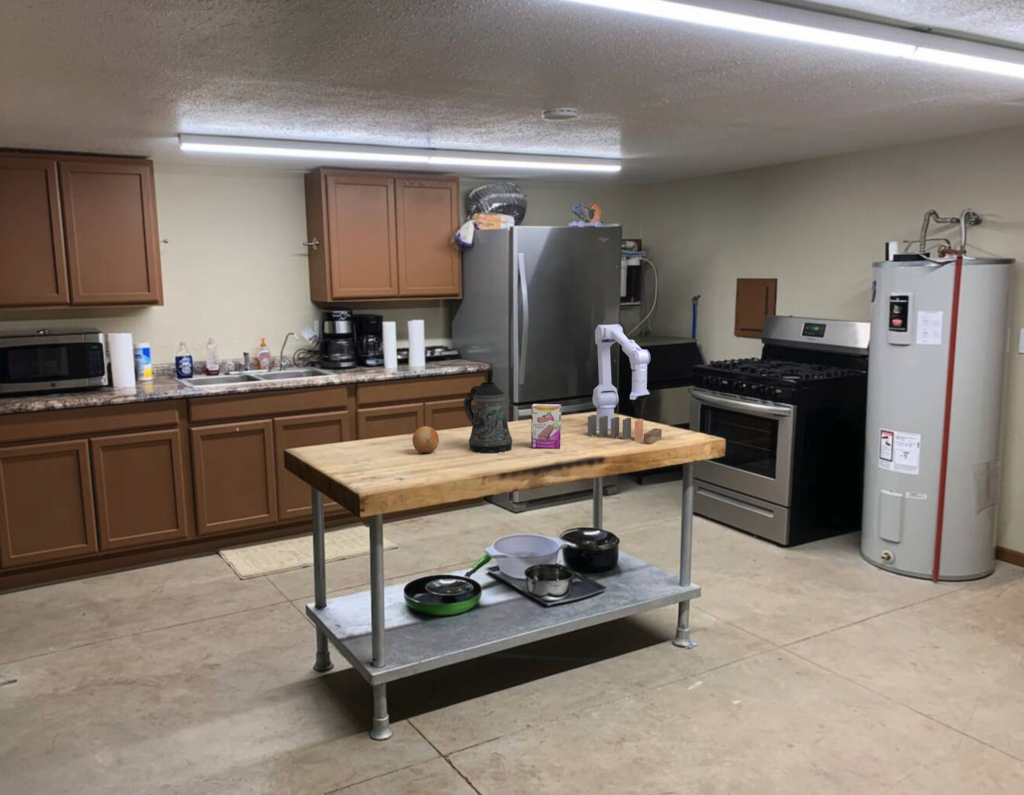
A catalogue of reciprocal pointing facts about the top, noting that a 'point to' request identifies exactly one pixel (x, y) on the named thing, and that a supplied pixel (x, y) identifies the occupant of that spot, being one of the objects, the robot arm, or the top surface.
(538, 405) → the candy bar box
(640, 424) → the domino
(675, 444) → the top surface
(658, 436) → the end block
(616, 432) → the domino
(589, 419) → the domino
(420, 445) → the onion
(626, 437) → the domino
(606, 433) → the domino
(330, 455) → the top surface
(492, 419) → the beer stein
